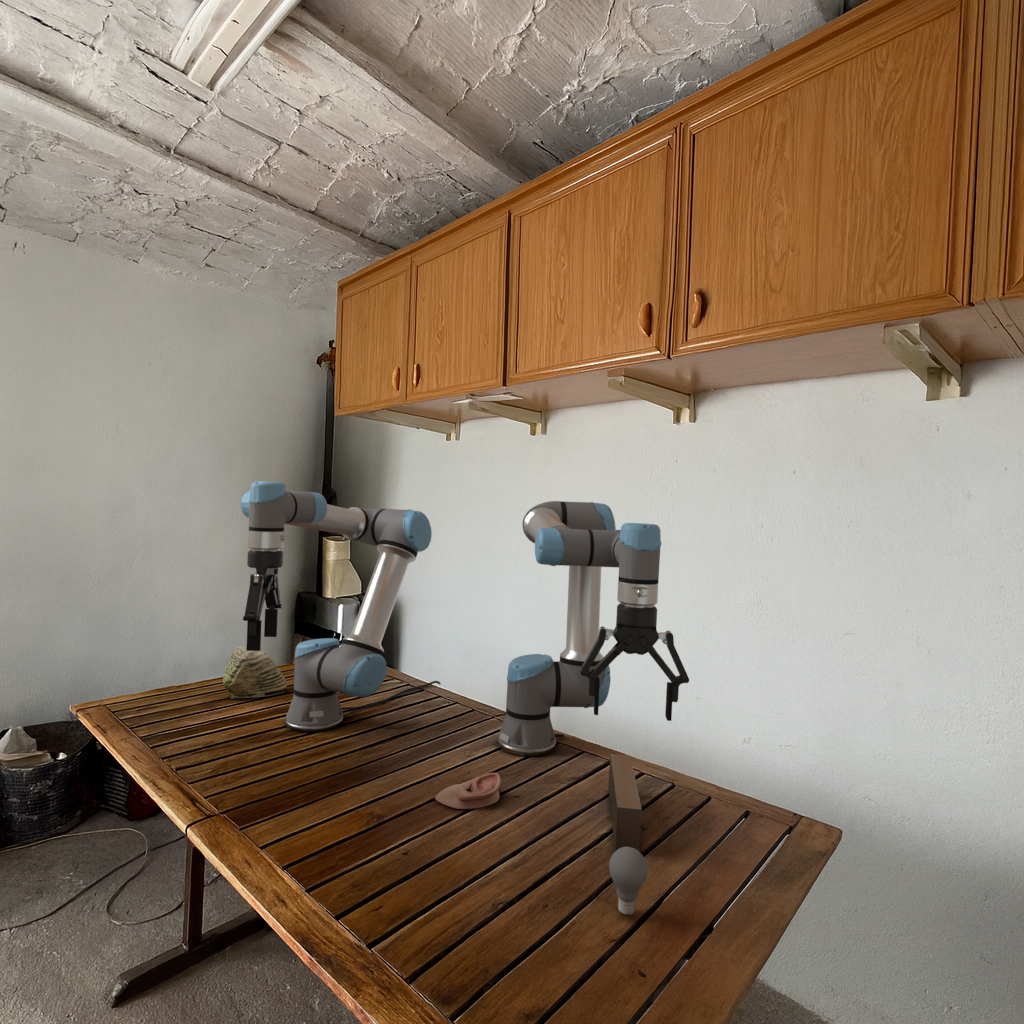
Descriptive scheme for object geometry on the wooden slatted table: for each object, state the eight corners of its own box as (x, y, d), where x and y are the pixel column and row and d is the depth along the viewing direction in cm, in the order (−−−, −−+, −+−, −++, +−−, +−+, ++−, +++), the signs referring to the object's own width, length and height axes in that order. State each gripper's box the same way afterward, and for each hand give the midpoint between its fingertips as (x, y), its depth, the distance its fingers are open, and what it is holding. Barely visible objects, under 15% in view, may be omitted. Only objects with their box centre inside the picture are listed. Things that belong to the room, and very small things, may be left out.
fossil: (218, 695, 195) (220, 647, 195) (278, 685, 208) (279, 640, 207) (228, 703, 189) (230, 653, 188) (289, 692, 201) (290, 645, 201)
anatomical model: (430, 786, 132) (447, 764, 143) (430, 805, 132) (446, 781, 143) (492, 795, 129) (504, 771, 140) (492, 814, 129) (504, 789, 140)
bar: (608, 791, 142) (610, 753, 142) (628, 793, 141) (630, 755, 141) (615, 852, 117) (617, 806, 117) (639, 855, 117) (641, 809, 117)
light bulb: (603, 900, 103) (606, 839, 103) (639, 899, 103) (642, 839, 103) (612, 924, 97) (615, 860, 97) (650, 924, 97) (653, 860, 97)
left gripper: (267, 555, 131) (264, 657, 132) (295, 546, 156) (292, 631, 156) (230, 554, 130) (226, 656, 131) (264, 545, 155) (260, 631, 155)
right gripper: (571, 603, 118) (565, 716, 118) (708, 611, 115) (702, 727, 115) (571, 597, 125) (566, 704, 126) (700, 605, 123) (695, 714, 123)
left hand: (262, 643), depth 143 cm, fingers open, 13 cm apart
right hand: (631, 715), depth 121 cm, fingers open, 13 cm apart
